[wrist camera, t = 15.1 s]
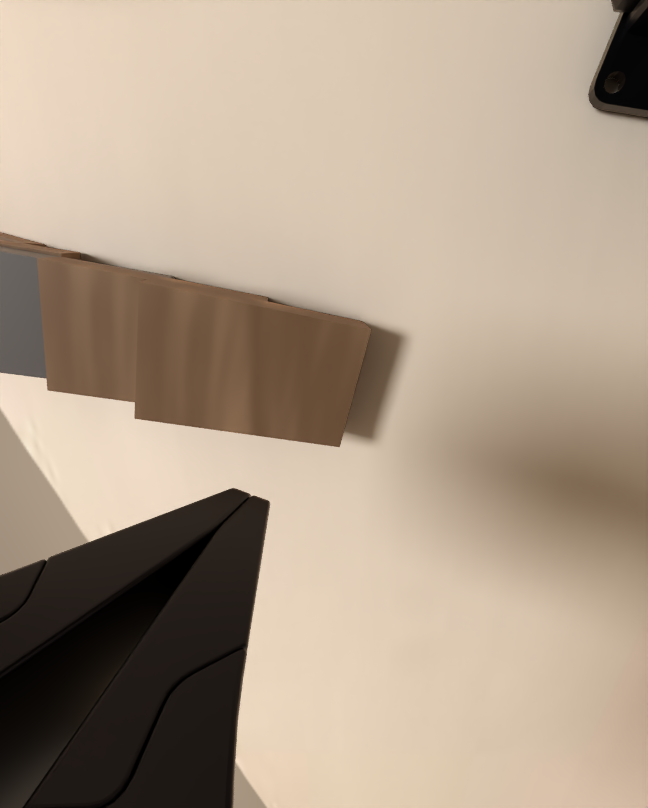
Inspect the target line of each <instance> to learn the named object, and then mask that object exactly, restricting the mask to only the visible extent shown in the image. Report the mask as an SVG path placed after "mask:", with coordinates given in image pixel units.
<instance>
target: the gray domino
mask: <svg viewBox="0 0 648 808" xmlns="http://www.w3.org/2000/svg"><path fill="white" fill-rule="evenodd" d="M47 257H60V256H54V255H48V254H42V253H37V252H31V251H25V250H20V249H14V248H8V247H2V246H0V373H8V374H16V375H24V376H32V377H40V378H47V376H46V364H45V352H44V340H43V327H42V315H41V303H40V291H39V279H38V267H37V258H47ZM76 260H77V259H76ZM81 261H82V260H81ZM86 262H88V261H86ZM91 263H94V262H91ZM96 264H100V263H96ZM101 265H105V264H101ZM106 266H111V265H106ZM111 267H117V266H111ZM117 268H122V267H117ZM122 269H127V270H132V271H137V272H142V273H147V274H152V275H157V276H162V277H167V278H172V279H174V276H168V275H162V274H157V273H151V272H145V271H140V270H134V269H128V268H122Z"/></svg>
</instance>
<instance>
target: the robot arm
mask: <svg viewBox="0 0 648 808" xmlns="http://www.w3.org/2000/svg"><path fill="white" fill-rule="evenodd" d="M611 2H612V6H613V10H614V12H620V14H619V17H618V19H617V22H616V24H615V27H614V29H613V32H612V34H611V37H610V39H609V41H608V44H607V46H606V49H605V51H604V54H603V56H602V59H601V61H600V64H599V66H598V68H597V71H596V73H595V76H594V78H593V81H592V83H591V86H590V89H589V94H588V95H589V101H590V103H591V104H592V105H593V107H595V108H597V109H600V110H606V111H612V112H618V113H624V114H630V115H636V116H642V117H648V0H611ZM610 78H614V79H616V80H617V82H618V84H619V86H618V91H617V92H616V93H608V92H606V91H605V88H604V83H605V80H606V79H610ZM269 509H270V502H269V501H268V500H265V499H262V498H260V497H257V496H251V495H250V494H249V493H246V492H244V491H241V490H238V489H235V488H232V489H229V490H226V491H223V492H221V493H218V494H215V495H213V496H210V497H207V498H205V499H202V500H200V501H197V502H194V503H192V504H189V505H186V506H184V507H181V508H178V509H176V510H173V511H170V512H168V513H165V514H162V515H160V516H157V517H155V518H152V519H149V520H147V521H144V522H141V523H139V524H136V525H133V526H131V527H128V528H125V529H123V530H120V531H117V532H115V533H112V534H109V535H107V536H104V537H102V538H99V539H96V540H94V541H91V542H88V543H86V544H83V545H80V546H78V547H75V548H72V549H70V550H67V551H64V552H62V553H59V554H57V555H54V556H51V557H50V558H49V559H48V560H47V561H46V560H40V561H38V562H35V563H32V564H30V565H27V566H24V567H22V568H19V569H16V570H14V571H11V572H8V573H5V574H2V575H0V808H233V802H234V774H235V758H236V742H237V726H238V715H239V707H240V699H241V691H242V682H243V675H244V669H245V663H246V656H247V648H248V642H249V635H250V629H251V623H252V616H253V610H254V604H255V597H256V591H257V585H258V578H259V572H260V566H261V559H262V553H263V547H264V540H265V534H266V528H267V521H268V515H269Z"/></svg>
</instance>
